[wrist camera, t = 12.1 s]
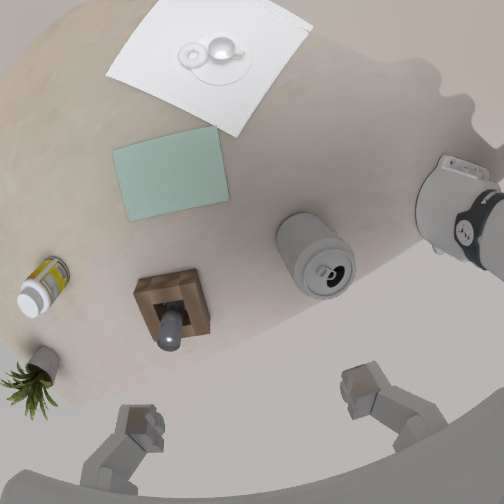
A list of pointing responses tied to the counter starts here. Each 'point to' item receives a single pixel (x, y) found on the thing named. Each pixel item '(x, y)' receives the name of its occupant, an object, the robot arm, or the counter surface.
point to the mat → (171, 173)
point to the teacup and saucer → (211, 56)
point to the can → (315, 256)
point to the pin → (171, 326)
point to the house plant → (35, 380)
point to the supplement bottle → (43, 287)
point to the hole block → (172, 289)
